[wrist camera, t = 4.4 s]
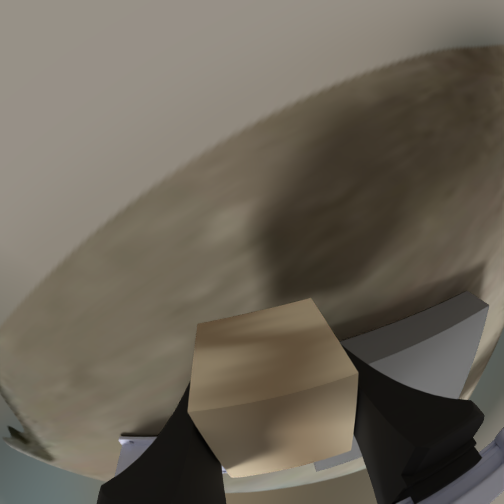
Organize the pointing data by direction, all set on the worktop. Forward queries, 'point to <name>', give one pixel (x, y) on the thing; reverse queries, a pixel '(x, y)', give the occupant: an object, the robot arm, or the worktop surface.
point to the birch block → (272, 389)
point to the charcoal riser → (422, 352)
